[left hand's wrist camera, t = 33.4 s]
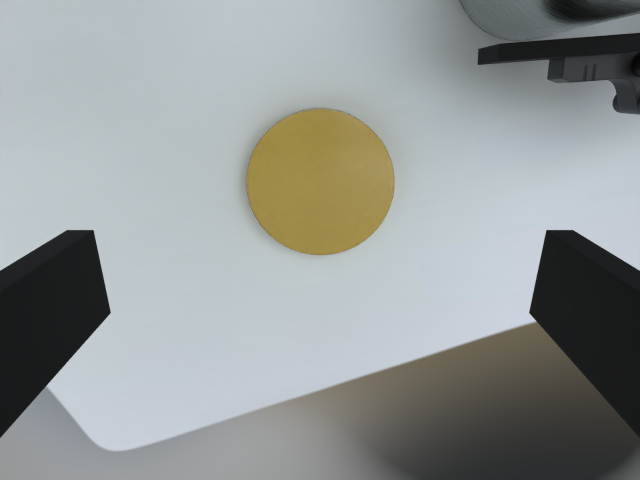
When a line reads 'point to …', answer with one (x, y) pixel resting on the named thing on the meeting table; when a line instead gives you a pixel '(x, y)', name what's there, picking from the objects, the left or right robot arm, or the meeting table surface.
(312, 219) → the lid
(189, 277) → the meeting table surface
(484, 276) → the meeting table surface
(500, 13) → the jar
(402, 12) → the meeting table surface
